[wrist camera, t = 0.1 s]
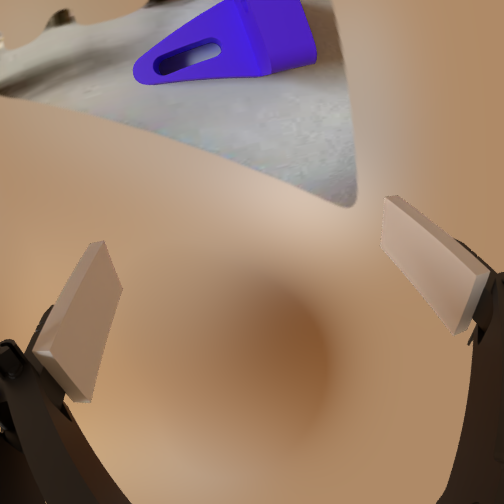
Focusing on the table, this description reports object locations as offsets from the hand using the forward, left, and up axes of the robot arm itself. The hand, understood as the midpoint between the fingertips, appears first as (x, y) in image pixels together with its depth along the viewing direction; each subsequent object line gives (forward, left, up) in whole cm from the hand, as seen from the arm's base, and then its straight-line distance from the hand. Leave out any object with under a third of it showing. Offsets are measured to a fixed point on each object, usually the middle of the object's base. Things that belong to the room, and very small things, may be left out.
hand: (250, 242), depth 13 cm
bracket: (-12, 0, -28) cm, 31 cm away
